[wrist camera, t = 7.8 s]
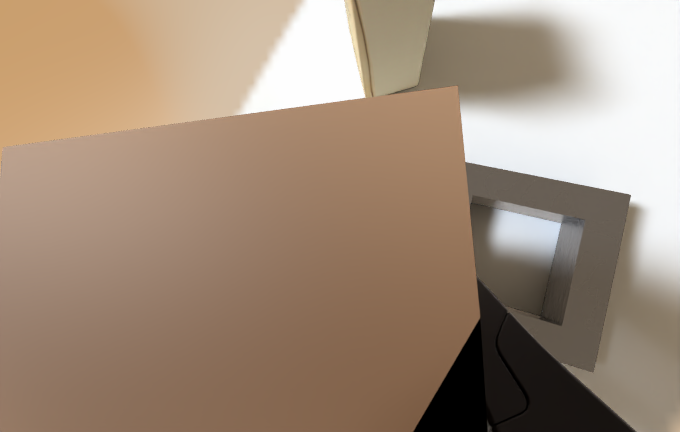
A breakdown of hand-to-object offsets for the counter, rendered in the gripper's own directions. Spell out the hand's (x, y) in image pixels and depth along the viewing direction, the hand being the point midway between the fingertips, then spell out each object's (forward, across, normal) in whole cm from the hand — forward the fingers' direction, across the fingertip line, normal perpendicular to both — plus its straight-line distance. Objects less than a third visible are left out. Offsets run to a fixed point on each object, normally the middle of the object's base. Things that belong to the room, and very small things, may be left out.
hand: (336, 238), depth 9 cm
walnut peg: (+4, 0, +6) cm, 7 cm away
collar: (+9, -9, +10) cm, 16 cm away
